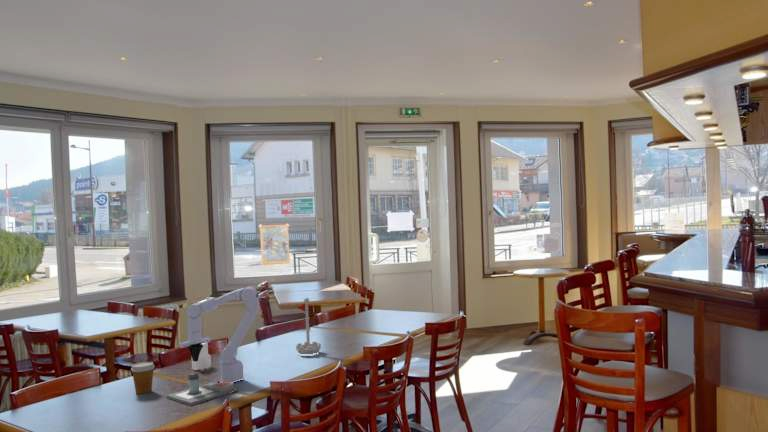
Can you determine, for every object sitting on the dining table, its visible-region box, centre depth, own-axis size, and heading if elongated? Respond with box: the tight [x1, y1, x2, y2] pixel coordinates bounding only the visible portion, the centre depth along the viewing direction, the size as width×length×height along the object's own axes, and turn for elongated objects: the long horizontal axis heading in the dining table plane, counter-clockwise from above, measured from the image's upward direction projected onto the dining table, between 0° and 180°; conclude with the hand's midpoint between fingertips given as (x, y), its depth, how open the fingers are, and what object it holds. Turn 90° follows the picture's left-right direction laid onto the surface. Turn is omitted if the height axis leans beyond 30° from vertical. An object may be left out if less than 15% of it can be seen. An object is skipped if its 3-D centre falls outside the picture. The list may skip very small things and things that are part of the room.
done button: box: [216, 382, 230, 387], centre depth 249 cm, size 4×4×3 cm
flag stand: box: [295, 297, 322, 354], centre depth 311 cm, size 13×13×30 cm
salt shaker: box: [187, 372, 200, 394], centre depth 245 cm, size 4×4×8 cm
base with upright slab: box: [191, 342, 212, 371], centre depth 290 cm, size 9×9×12 cm
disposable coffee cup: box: [130, 361, 155, 395], centre depth 254 cm, size 10×10×12 cm
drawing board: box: [166, 381, 238, 407], centre depth 246 cm, size 22×18×3 cm
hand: (195, 360), depth 263 cm, fingers closed
